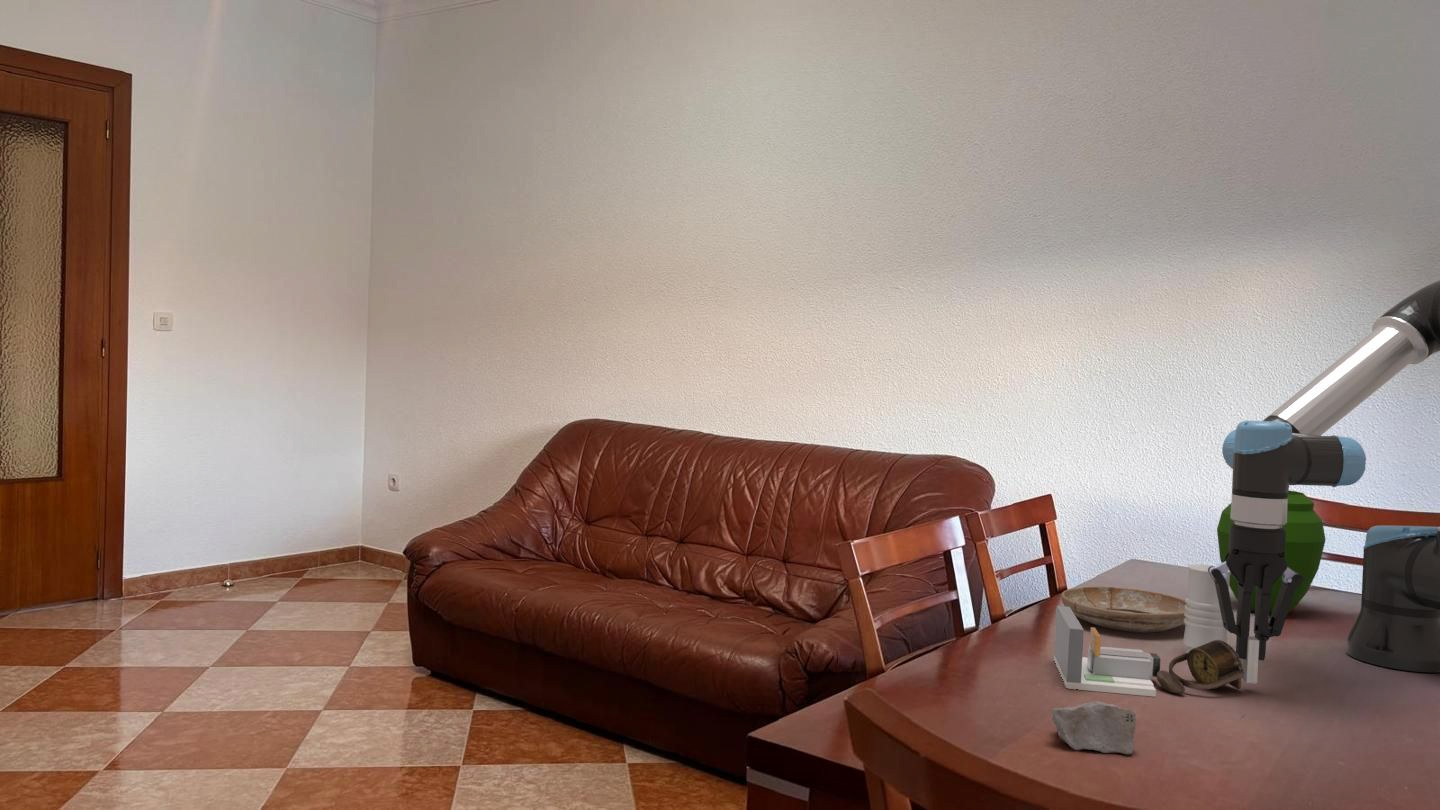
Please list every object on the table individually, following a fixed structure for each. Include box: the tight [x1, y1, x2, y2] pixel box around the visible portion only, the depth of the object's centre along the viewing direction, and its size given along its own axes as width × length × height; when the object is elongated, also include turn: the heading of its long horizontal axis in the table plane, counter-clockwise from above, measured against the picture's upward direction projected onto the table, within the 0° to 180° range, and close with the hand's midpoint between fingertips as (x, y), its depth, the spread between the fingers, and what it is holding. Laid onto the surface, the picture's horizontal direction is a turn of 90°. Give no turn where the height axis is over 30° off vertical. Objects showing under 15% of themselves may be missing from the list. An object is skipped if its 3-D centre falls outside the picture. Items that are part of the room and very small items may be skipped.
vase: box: [1216, 489, 1326, 616], centre depth 212 cm, size 20×20×24 cm
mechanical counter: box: [1156, 640, 1244, 694], centre depth 158 cm, size 7×13×10 cm
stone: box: [1051, 700, 1137, 755], centre depth 133 cm, size 8×10×6 cm
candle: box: [1182, 563, 1232, 653], centre depth 175 cm, size 7×7×15 cm
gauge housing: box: [1053, 605, 1157, 698], centre depth 161 cm, size 12×15×9 cm
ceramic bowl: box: [1060, 586, 1187, 633], centre depth 197 cm, size 23×24×5 cm
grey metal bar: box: [1087, 626, 1161, 678], centre depth 159 cm, size 10×6×6 cm, turn 79°
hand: (1248, 680), depth 157 cm, fingers closed
